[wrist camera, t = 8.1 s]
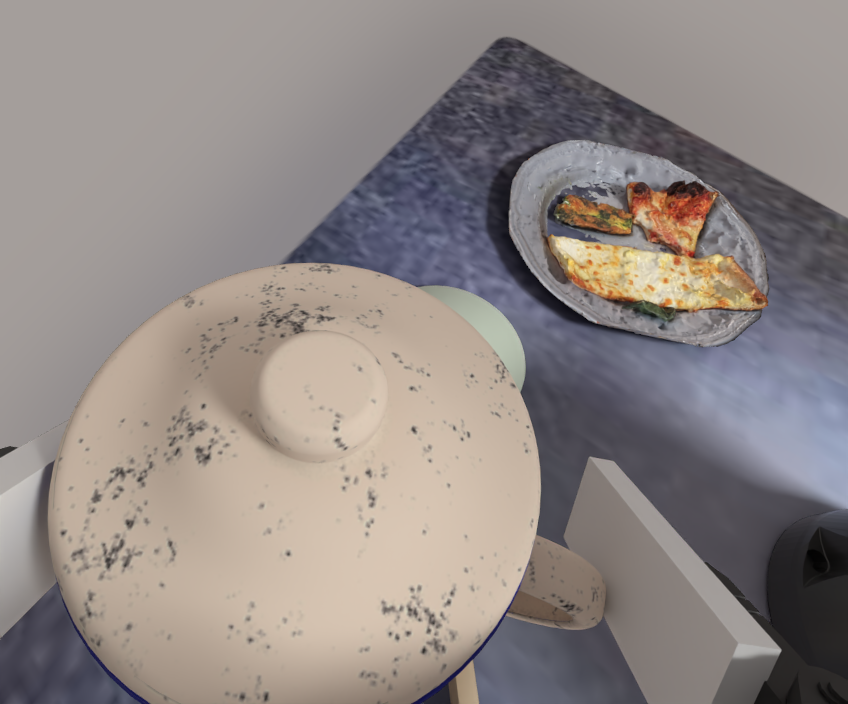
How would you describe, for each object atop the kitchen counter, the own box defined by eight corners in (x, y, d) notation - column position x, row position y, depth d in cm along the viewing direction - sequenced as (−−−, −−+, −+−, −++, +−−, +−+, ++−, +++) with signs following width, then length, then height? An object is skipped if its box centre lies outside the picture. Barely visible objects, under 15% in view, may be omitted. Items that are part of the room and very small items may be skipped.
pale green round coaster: (503, 293, 40) (507, 286, 39) (536, 431, 34) (542, 426, 33) (358, 292, 37) (358, 284, 37) (367, 440, 32) (368, 435, 31)
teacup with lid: (110, 621, 14) (-346, 587, 4) (265, 376, 19) (210, 100, 9) (484, 782, 14) (871, 1122, 4) (545, 492, 19) (792, 335, 9)
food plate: (729, 190, 53) (753, 163, 50) (779, 378, 41) (815, 358, 38) (507, 140, 51) (518, 110, 48) (494, 321, 39) (506, 296, 36)
